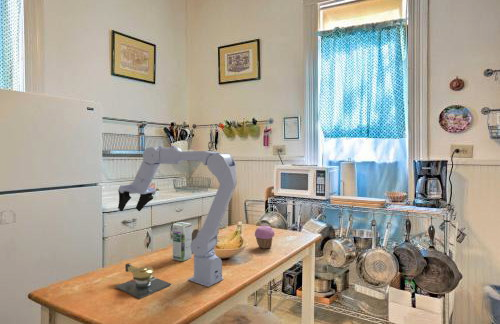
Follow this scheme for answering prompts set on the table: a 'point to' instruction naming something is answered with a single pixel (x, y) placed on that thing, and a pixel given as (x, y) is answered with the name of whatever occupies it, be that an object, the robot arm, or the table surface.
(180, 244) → the syrup box
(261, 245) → the cupcake
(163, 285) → the dark grey plate
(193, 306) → the table surface
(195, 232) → the vase
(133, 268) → the brass lever handle
